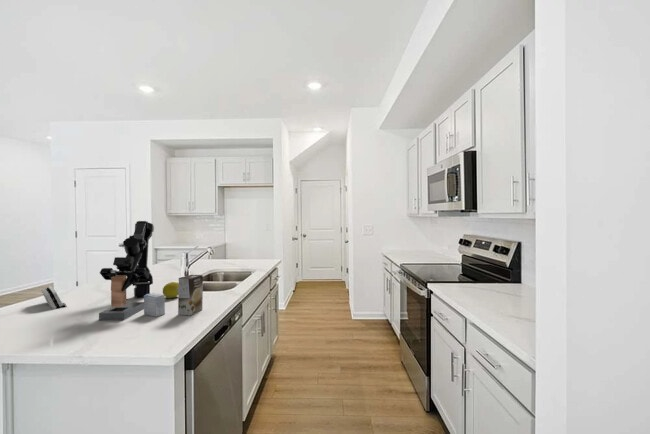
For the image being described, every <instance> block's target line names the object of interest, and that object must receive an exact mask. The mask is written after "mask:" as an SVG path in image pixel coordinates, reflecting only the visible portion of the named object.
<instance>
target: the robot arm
mask: <svg viewBox="0 0 650 434" xmlns="http://www.w3.org/2000/svg"><path fill="white" fill-rule="evenodd" d="M154 230H155V227H154V224H153V223H151V222H149V221H147V220H138V221H136V222H135V224H134V232H133V234H132V235H129V237H128V238H127V237H126V239H124V240H123V242H122V244H123V248H124V252H125V254H126V255H125V256H124V257H123V256H121V257H119V256H117V257H114V259H113V262H112V263H113V266H116V269H117V270H116V269H113V268H112V267H104V268H103V267H102V268H101V269H100V271H99V274H100V275H101V277H102V278H103V279H104V280H105V281H111V277H113V276H116V275H126V281H125V283H124V285H123V287H122V291H124V290H126V291H127V289H128V288H129V287H131V286H132V287H134V288H133V296H134V297H135V298H136V299H141V298H144V295H147V294H150V291H151V290H150V289H151V285H153V284H154V281H153V280H154V279H153V275H152V273H151V270H150V269H149V267H148V259H149V258H148V257H149V240H150V239H151V237H153V233H154V232H155V231H154Z"/></svg>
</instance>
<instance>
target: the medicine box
mask: <svg viewBox="0 0 650 434" xmlns="http://www.w3.org/2000/svg"><path fill="white" fill-rule="evenodd" d="M165 298H166V297H165V295H163V293H155V292H151V293H150V294H147V295H144V297H143V302H144V309H143V315H146V316H150V317H156V318H157V317H160V316H164V315H165V314H166V310H165V309H166V307H165V306H166V303H165V300H166V299H165Z"/></svg>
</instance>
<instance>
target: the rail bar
mask: <svg viewBox="0 0 650 434" xmlns="http://www.w3.org/2000/svg"><path fill="white" fill-rule="evenodd" d="M142 310H143V311H144V301H138V302H137V301H134V302H133V301H129V302H127V301H126V304H125V305H123V306H121V307H108V308H106V309H105V310H103V311H100V312H99V313H98V321H125V320H128V319H129V318H131V317H133V316H134V315H135V314H137V313H139V312H141V311H142Z"/></svg>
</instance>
